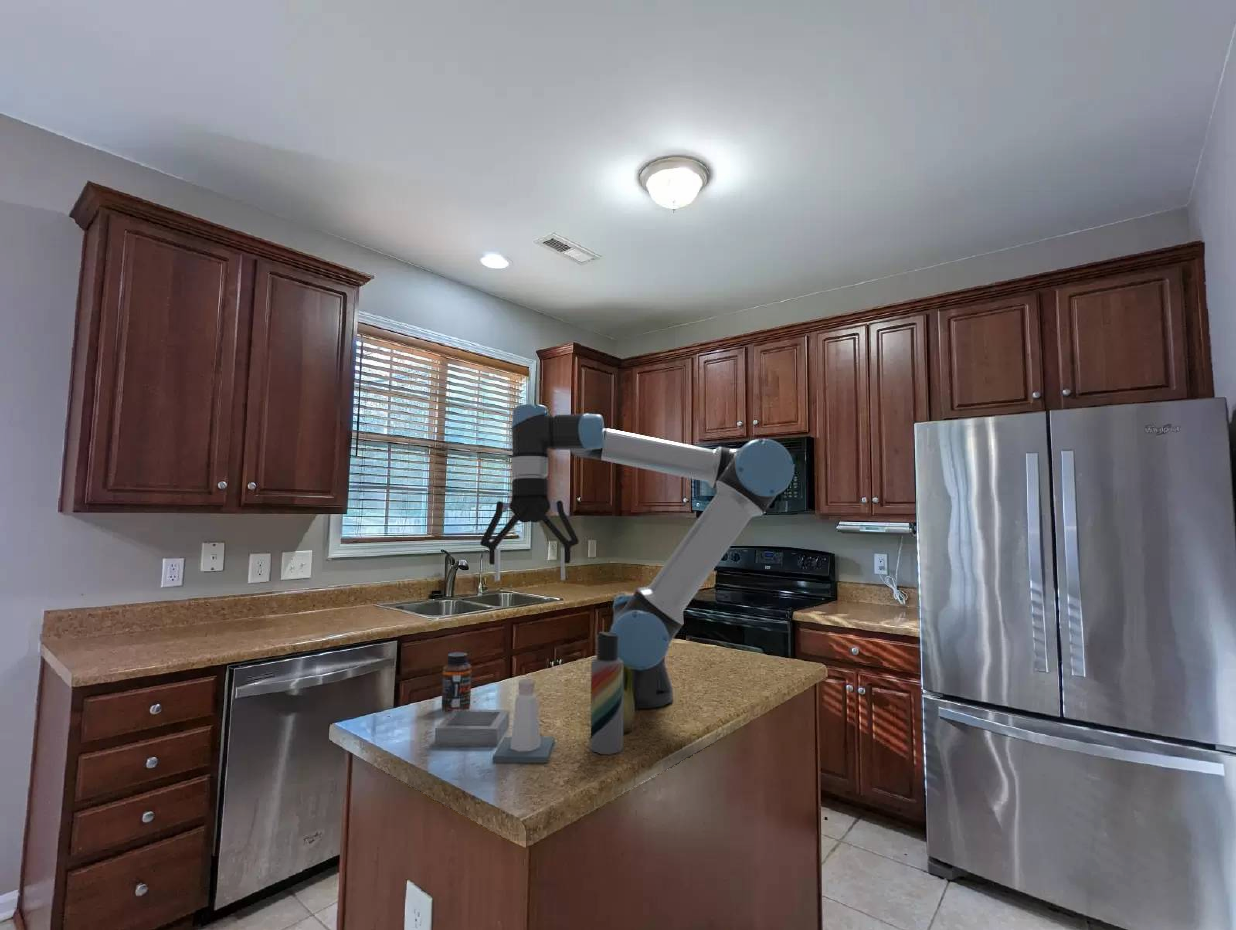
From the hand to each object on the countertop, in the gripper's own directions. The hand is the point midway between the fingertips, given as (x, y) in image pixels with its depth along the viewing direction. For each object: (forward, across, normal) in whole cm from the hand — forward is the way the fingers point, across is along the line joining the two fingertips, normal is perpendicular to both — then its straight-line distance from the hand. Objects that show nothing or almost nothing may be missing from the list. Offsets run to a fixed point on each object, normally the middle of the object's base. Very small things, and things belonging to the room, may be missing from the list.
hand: (530, 580), depth 125 cm
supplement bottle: (+27, +16, -6) cm, 32 cm away
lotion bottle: (+28, -15, +18) cm, 37 cm away
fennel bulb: (+28, -18, +9) cm, 34 cm away
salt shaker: (+27, -1, +19) cm, 33 cm away
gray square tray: (+27, +9, +10) cm, 31 cm away
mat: (+28, -1, +19) cm, 33 cm away
